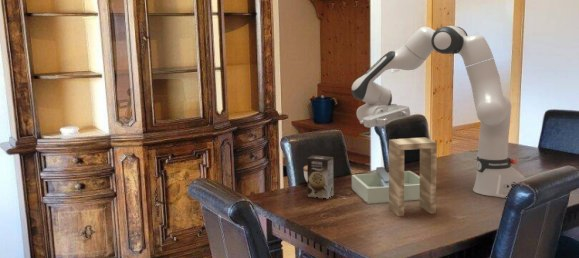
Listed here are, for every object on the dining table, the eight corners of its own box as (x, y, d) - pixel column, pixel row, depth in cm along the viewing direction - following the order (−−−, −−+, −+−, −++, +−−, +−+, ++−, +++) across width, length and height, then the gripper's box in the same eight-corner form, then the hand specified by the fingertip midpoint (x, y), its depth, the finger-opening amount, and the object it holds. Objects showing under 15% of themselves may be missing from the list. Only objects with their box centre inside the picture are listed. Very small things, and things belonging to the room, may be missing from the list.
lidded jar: (308, 188, 234) (307, 167, 232) (300, 182, 244) (300, 161, 242) (331, 186, 236) (331, 165, 235) (323, 180, 247) (323, 159, 245)
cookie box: (307, 196, 222) (306, 157, 219) (314, 192, 227) (313, 154, 224) (327, 199, 217) (327, 159, 215) (334, 195, 223) (333, 156, 220)
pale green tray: (410, 184, 236) (410, 170, 235) (431, 198, 214) (431, 183, 213) (351, 188, 231) (351, 174, 230) (367, 203, 210) (367, 188, 209)
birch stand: (424, 205, 206) (425, 137, 202) (435, 213, 197) (436, 142, 192) (388, 208, 204) (389, 139, 200) (398, 216, 194) (398, 144, 190)
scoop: (387, 170, 234) (387, 164, 232) (400, 192, 220) (402, 186, 219) (371, 171, 232) (372, 165, 231) (384, 194, 219) (385, 188, 217)
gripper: (356, 115, 230) (371, 117, 216) (398, 102, 235) (415, 104, 222) (359, 129, 231) (374, 132, 218) (401, 116, 236) (418, 118, 223)
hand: (395, 118), depth 220 cm, fingers open, 8 cm apart
